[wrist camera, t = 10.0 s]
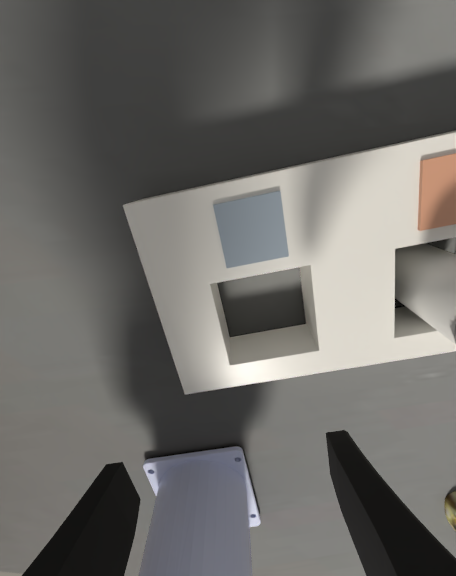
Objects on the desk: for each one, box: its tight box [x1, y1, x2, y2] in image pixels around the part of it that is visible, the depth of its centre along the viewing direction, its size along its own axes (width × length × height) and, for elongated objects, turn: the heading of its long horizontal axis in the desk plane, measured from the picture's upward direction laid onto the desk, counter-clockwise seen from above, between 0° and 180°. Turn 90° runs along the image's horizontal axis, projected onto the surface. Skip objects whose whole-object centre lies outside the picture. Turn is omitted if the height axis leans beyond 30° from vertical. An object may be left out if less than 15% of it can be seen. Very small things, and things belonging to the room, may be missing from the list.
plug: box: [395, 243, 456, 344], centre depth 14 cm, size 4×4×7 cm
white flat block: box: [123, 130, 456, 395], centre depth 16 cm, size 11×20×3 cm, turn 102°
